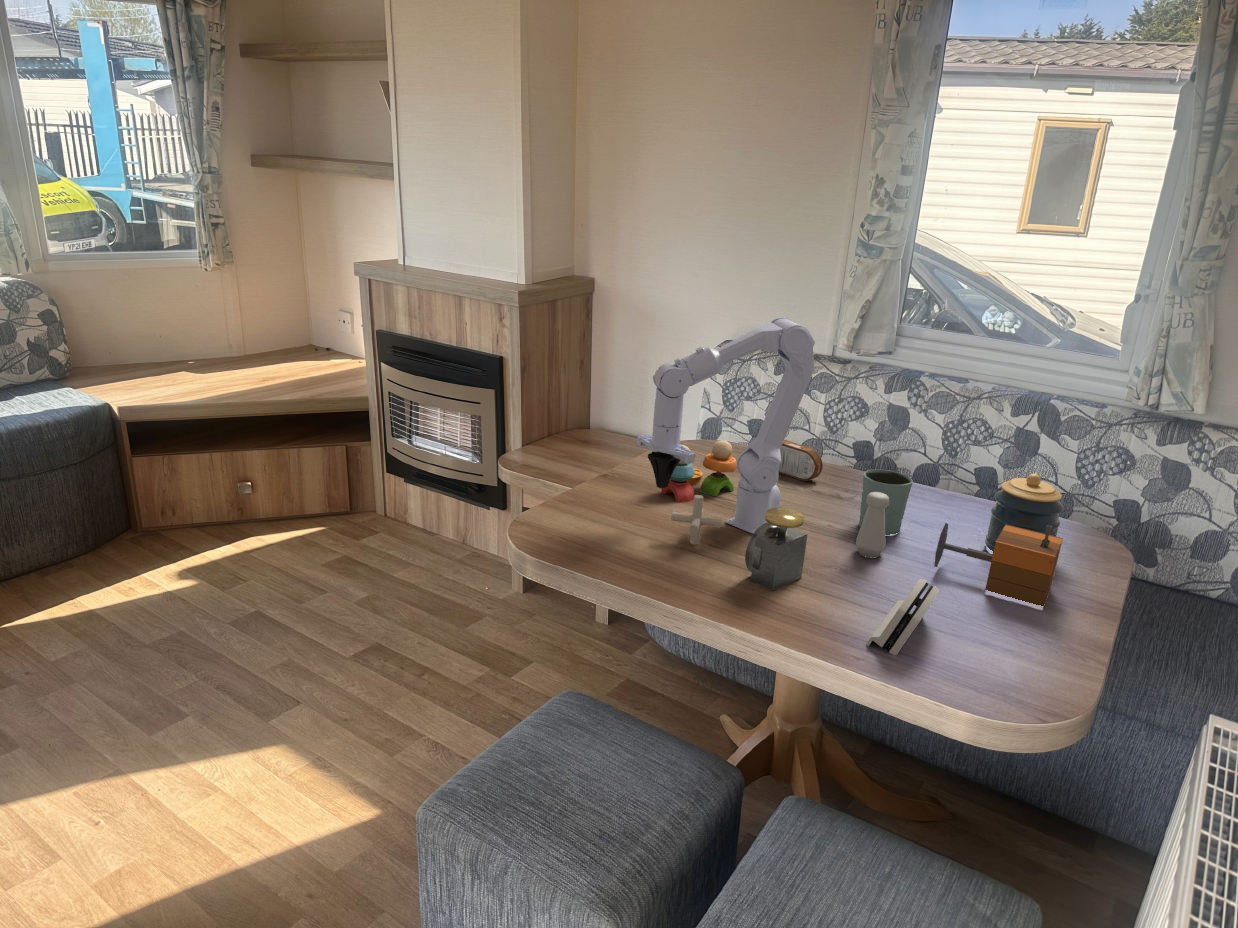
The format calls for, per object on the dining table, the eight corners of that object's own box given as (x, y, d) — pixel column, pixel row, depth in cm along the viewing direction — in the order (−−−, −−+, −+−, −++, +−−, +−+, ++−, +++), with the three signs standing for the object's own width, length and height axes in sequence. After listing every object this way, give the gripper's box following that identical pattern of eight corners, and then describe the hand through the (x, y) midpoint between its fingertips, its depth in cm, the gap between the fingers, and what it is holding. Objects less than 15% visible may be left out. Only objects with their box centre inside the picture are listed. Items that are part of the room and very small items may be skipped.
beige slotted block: (893, 606, 156) (922, 564, 152) (917, 622, 155) (946, 580, 150) (865, 645, 143) (895, 600, 138) (890, 663, 141) (922, 618, 137)
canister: (1059, 555, 183) (1079, 476, 177) (1038, 573, 173) (1058, 490, 168) (997, 536, 191) (1013, 459, 185) (973, 552, 182) (990, 472, 176)
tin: (820, 483, 217) (825, 450, 214) (814, 485, 215) (818, 453, 212) (770, 466, 226) (774, 435, 224) (763, 469, 224) (766, 437, 221)
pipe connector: (716, 556, 172) (721, 508, 169) (666, 549, 174) (670, 502, 171) (721, 536, 182) (726, 491, 178) (673, 529, 183) (677, 485, 180)
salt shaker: (886, 552, 179) (896, 492, 175) (881, 562, 174) (892, 501, 170) (857, 545, 181) (866, 486, 177) (851, 555, 176) (861, 495, 172)
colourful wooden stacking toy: (688, 471, 219) (693, 423, 215) (741, 492, 207) (747, 442, 203) (635, 485, 207) (639, 435, 203) (688, 508, 196) (693, 455, 192)
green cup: (852, 531, 188) (860, 479, 184) (858, 516, 197) (866, 465, 193) (901, 541, 185) (910, 488, 181) (905, 524, 194) (914, 473, 190)
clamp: (942, 561, 177) (955, 494, 172) (1050, 590, 167) (1067, 520, 162) (929, 579, 168) (943, 510, 163) (1042, 611, 158) (1060, 539, 154)
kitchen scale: (775, 564, 170) (783, 502, 166) (807, 578, 165) (816, 515, 161) (742, 578, 163) (750, 514, 159) (775, 594, 158) (783, 527, 154)
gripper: (628, 418, 179) (623, 480, 184) (680, 436, 170) (674, 501, 174) (652, 413, 184) (647, 473, 189) (704, 430, 174) (698, 494, 179)
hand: (662, 486), depth 182 cm, fingers closed
